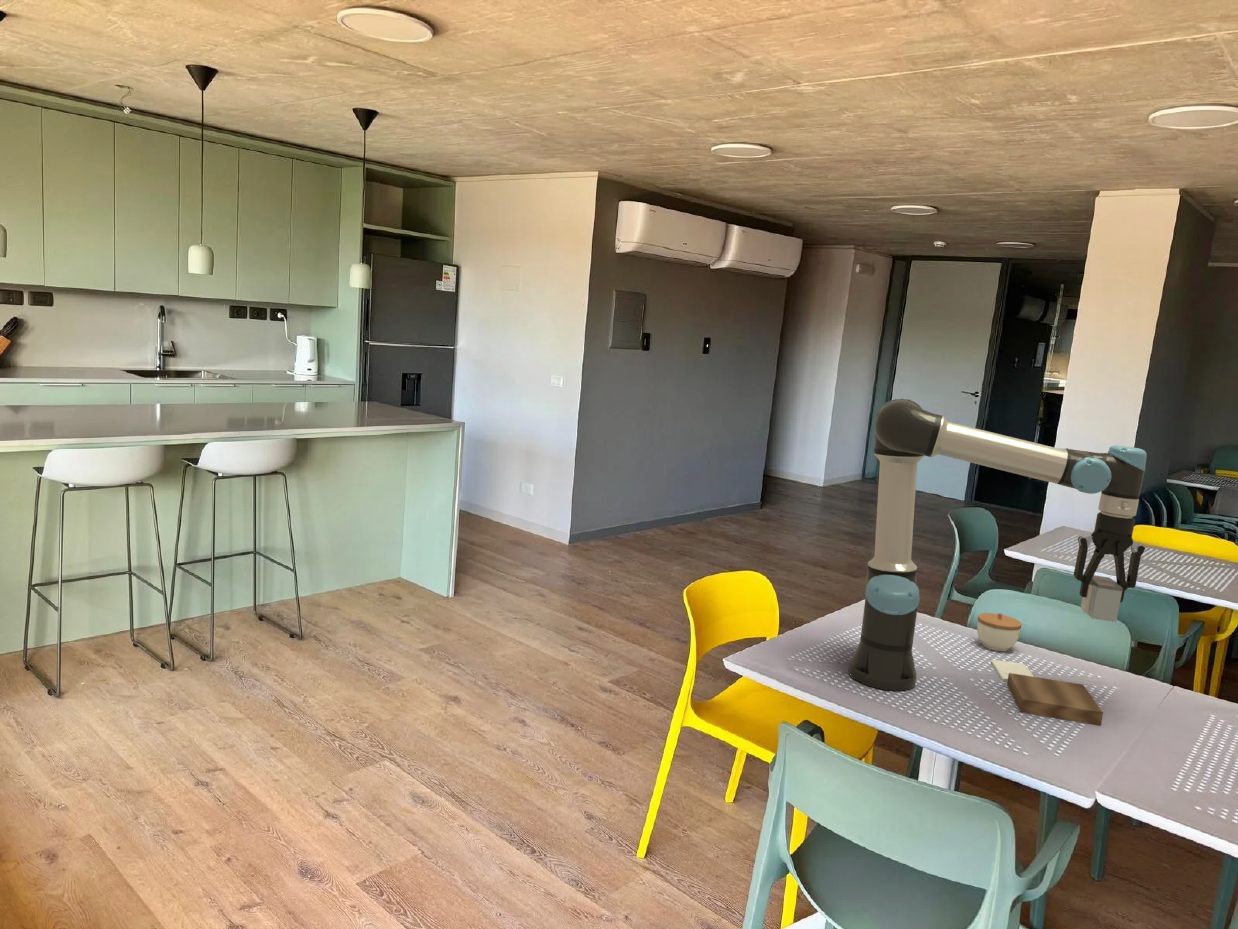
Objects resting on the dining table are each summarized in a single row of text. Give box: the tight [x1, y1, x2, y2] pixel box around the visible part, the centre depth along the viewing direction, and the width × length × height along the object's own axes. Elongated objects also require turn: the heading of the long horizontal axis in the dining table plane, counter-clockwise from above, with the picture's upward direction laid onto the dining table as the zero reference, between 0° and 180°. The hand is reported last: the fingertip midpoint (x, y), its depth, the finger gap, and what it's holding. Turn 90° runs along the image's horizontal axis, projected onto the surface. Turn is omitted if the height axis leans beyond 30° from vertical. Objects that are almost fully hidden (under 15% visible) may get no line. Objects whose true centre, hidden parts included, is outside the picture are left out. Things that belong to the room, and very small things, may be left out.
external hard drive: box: [990, 659, 1035, 683], centre depth 209 cm, size 2×8×12 cm
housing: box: [1080, 574, 1123, 623], centre depth 196 cm, size 5×9×8 cm, turn 167°
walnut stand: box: [1006, 673, 1104, 726], centre depth 192 cm, size 16×16×3 cm
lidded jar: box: [976, 612, 1022, 652], centre depth 228 cm, size 11×11×9 cm
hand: (1098, 612), depth 197 cm, fingers closed on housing, 5 cm apart
